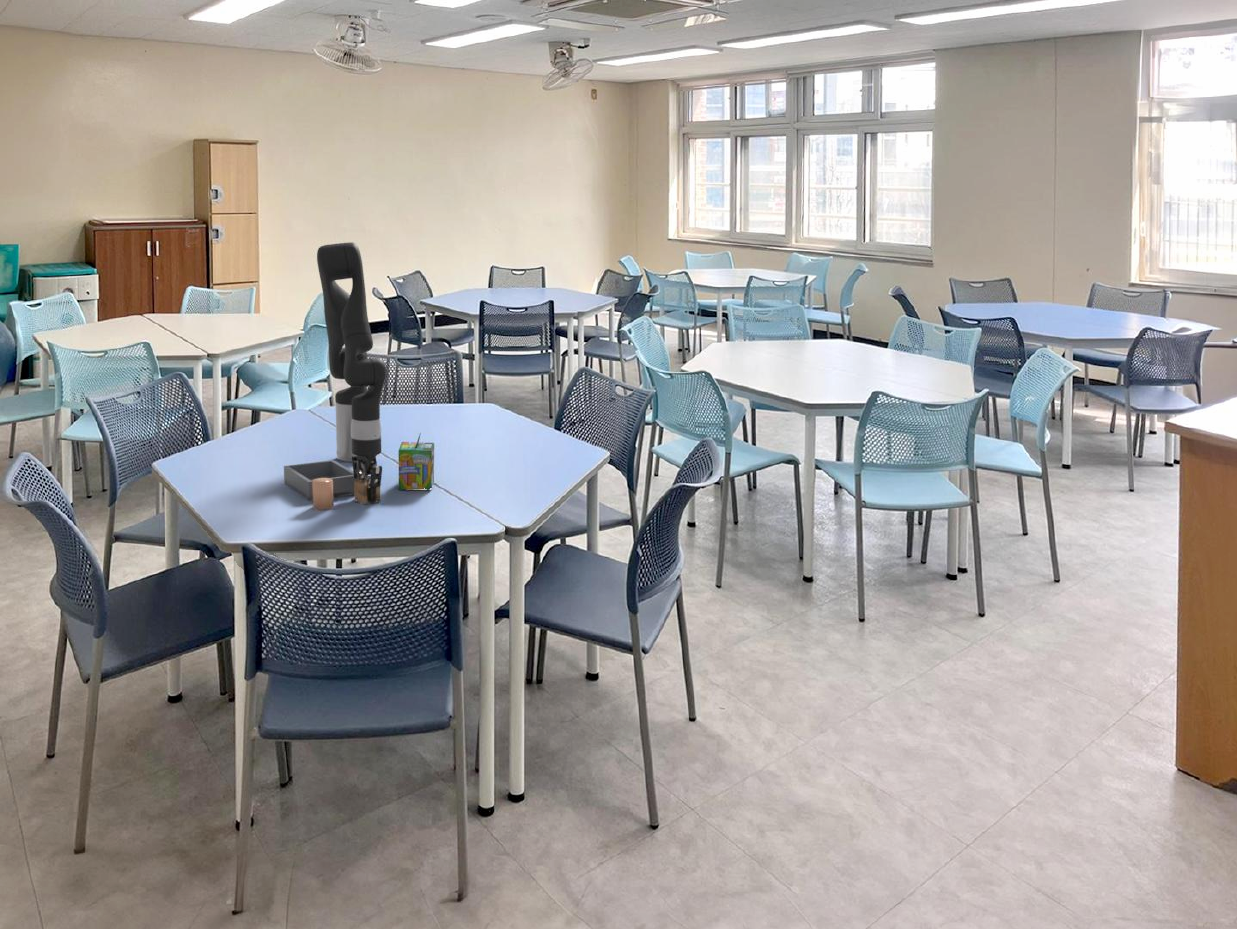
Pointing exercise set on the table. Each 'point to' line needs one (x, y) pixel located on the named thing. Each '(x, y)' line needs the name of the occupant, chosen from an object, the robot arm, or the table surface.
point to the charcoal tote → (303, 475)
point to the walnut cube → (363, 492)
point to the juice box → (416, 465)
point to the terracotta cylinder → (322, 493)
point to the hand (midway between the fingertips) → (367, 498)
